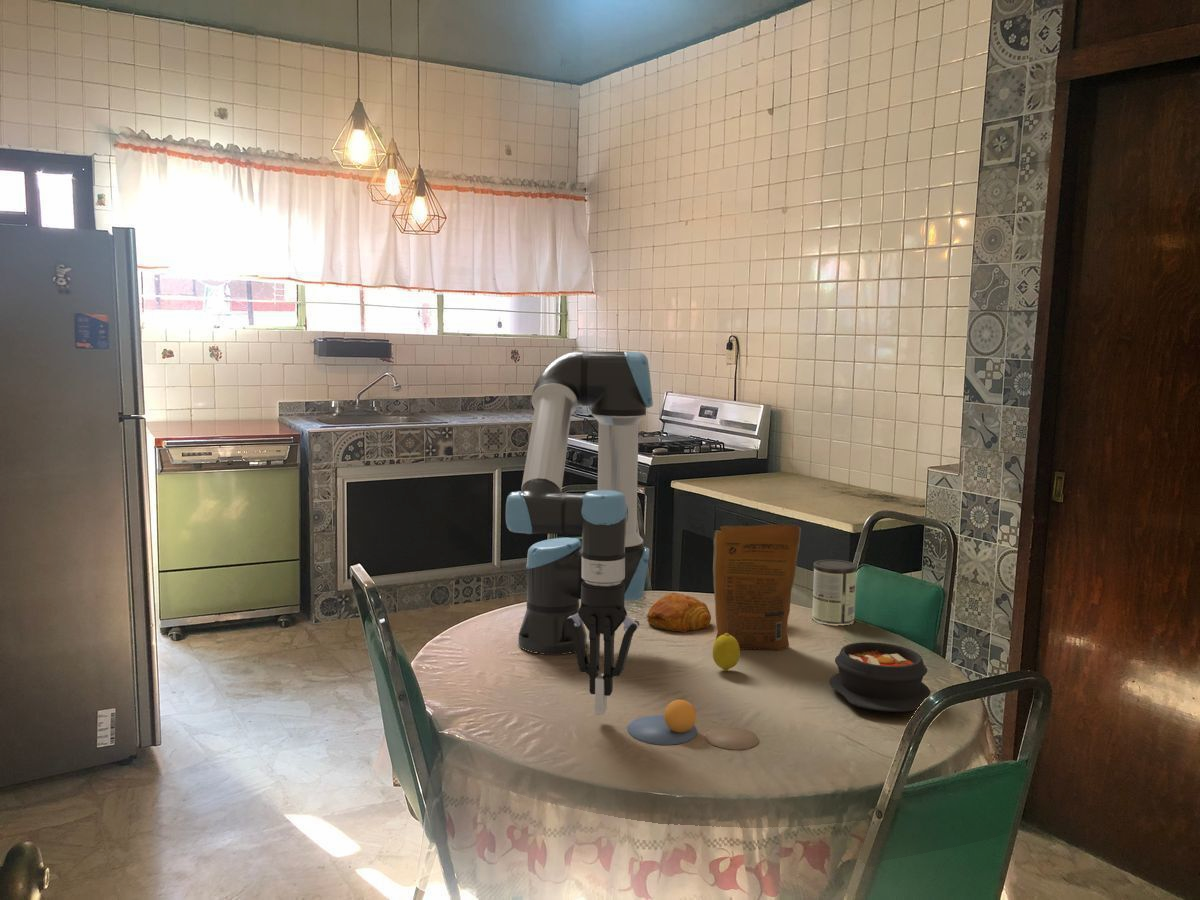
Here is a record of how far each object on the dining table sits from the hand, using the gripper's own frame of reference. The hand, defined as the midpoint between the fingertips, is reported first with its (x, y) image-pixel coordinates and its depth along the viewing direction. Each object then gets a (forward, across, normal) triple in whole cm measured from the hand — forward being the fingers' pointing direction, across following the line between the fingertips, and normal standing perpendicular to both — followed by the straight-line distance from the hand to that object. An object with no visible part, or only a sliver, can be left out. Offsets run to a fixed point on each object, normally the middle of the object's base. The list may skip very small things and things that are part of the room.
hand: (600, 711), depth 163 cm
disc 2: (+2, +23, 0) cm, 23 cm away
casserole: (+2, +48, +28) cm, 56 cm away
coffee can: (+2, +39, +77) cm, 86 cm away
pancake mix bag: (+2, +22, +50) cm, 55 cm away
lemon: (+2, +18, +33) cm, 38 cm away
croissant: (+3, +3, +63) cm, 63 cm away
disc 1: (+2, +11, 0) cm, 11 cm away
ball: (-1, +14, 0) cm, 14 cm away
